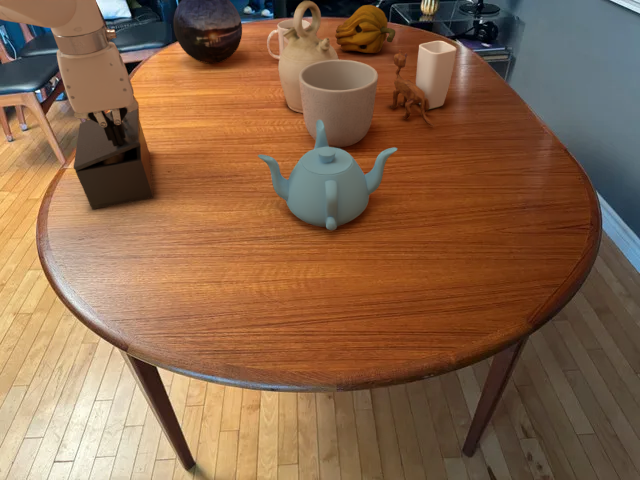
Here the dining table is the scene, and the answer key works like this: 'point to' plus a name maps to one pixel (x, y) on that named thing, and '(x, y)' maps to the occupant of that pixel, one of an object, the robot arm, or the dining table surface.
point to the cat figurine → (408, 91)
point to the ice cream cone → (114, 159)
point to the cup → (435, 71)
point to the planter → (338, 99)
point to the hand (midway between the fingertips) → (118, 142)
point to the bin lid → (104, 140)
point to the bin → (119, 178)
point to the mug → (282, 40)
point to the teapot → (327, 183)
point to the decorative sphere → (208, 29)
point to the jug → (302, 53)
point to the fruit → (364, 31)
